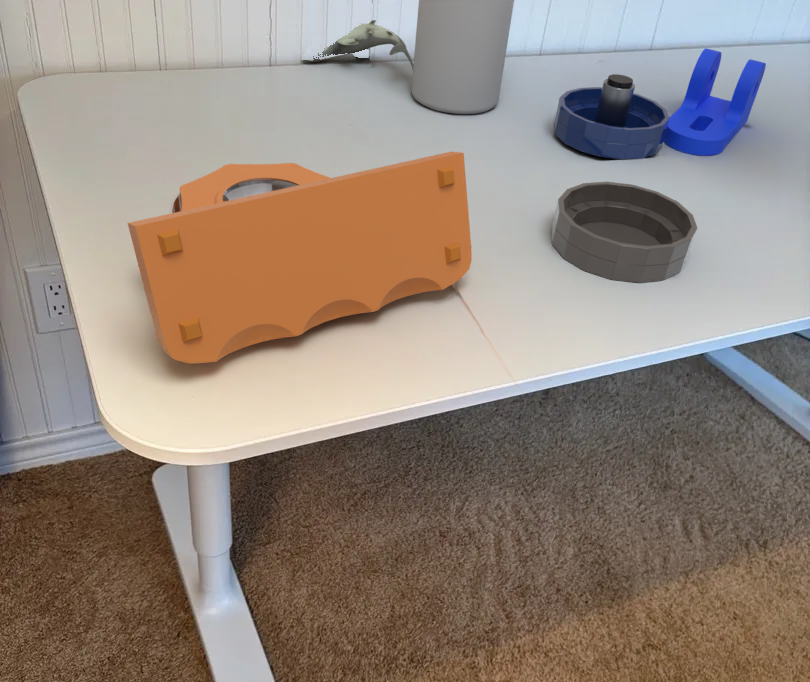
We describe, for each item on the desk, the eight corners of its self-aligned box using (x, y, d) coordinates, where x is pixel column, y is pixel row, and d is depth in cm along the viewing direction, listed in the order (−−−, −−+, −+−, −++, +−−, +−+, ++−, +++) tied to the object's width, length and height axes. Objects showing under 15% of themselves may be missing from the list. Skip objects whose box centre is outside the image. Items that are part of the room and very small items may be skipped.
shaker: (612, 129, 113) (626, 72, 108) (626, 141, 110) (642, 83, 105) (586, 130, 112) (599, 73, 107) (600, 143, 109) (614, 84, 104)
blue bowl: (626, 117, 118) (635, 85, 115) (679, 160, 108) (689, 127, 105) (536, 121, 114) (542, 88, 111) (582, 166, 104) (590, 131, 101)
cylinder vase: (393, 92, 118) (407, -112, 102) (457, 77, 125) (480, -117, 108) (451, 123, 111) (476, -91, 95) (516, 106, 118) (550, -97, 101)
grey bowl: (641, 214, 96) (651, 178, 93) (709, 280, 86) (723, 241, 83) (529, 223, 92) (536, 186, 89) (587, 293, 82) (597, 253, 79)
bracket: (691, 105, 124) (711, 43, 118) (747, 121, 121) (769, 57, 115) (653, 143, 112) (673, 75, 106) (714, 161, 109) (737, 92, 103)
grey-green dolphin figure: (296, 75, 118) (312, 117, 125) (409, 49, 116) (420, 93, 122) (297, 15, 126) (312, 57, 132) (404, -11, 123) (414, 34, 130)
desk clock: (466, 146, 73) (351, 137, 89) (135, 219, 59) (68, 193, 75) (477, 280, 78) (366, 250, 94) (175, 376, 64) (104, 322, 80)
